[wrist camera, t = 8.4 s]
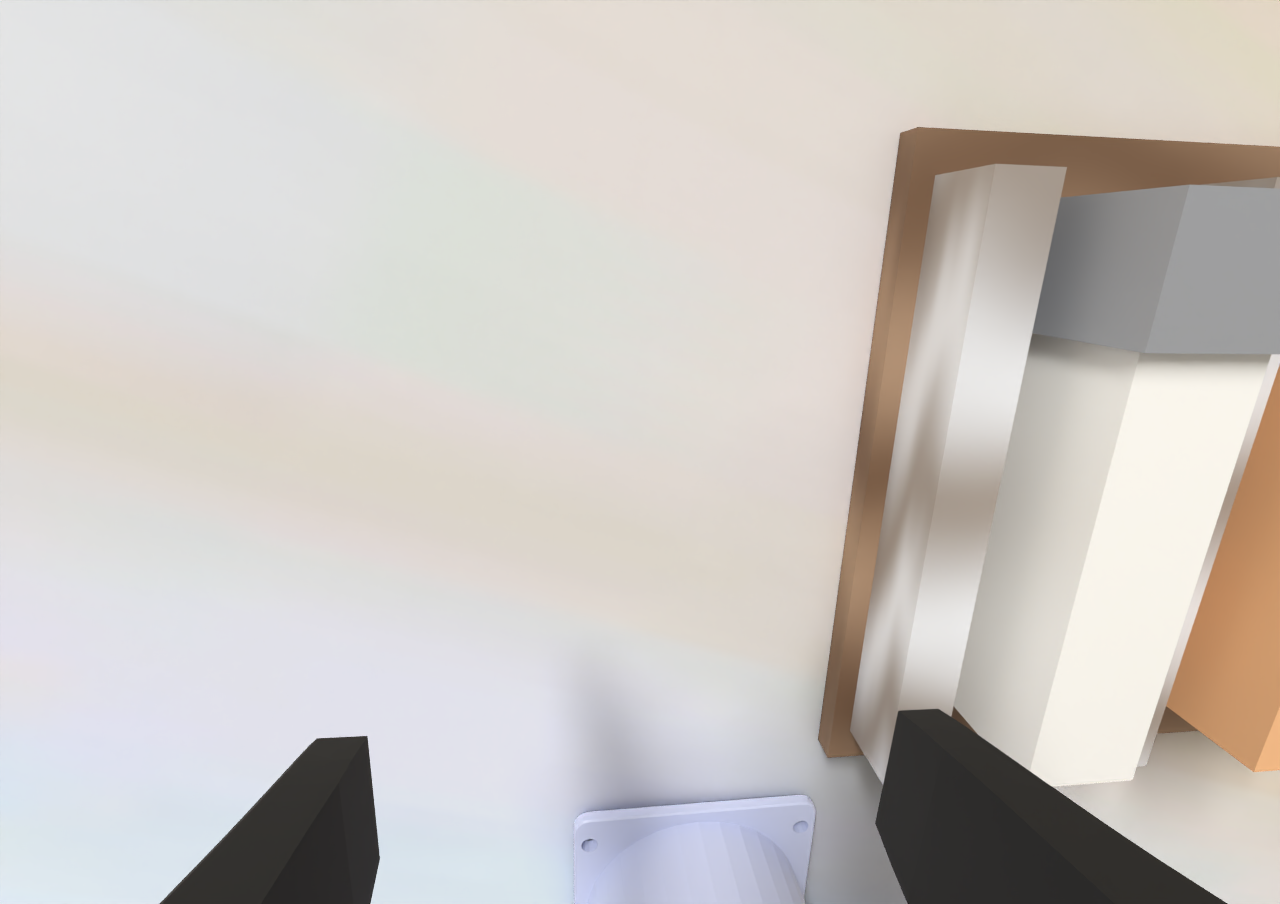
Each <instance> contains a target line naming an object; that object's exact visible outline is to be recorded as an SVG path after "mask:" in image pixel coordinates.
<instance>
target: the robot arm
mask: <svg viewBox="0 0 1280 904" xmlns="http://www.w3.org/2000/svg"><path fill="white" fill-rule="evenodd" d="M815 817H816V808H815V806H814V804H813V802H812V800H811V799H810V797H808V796H806V795H789V796H777V797H765V798H752V799H740V800H727V801H715V802H703V803H690V804H678V805H665V806H653V807H641V808H628V809H616V810H603V811H591V812H585V813H583V814H581V815H579V816H578V817H577V818H576V819H575V821H574V904H805V901H804V895H805V888H806V881H807V874H808V867H809V860H810V853H811V846H812V839H813V831H814V824H815ZM799 821H800V822H799ZM797 822H798V823H797ZM876 826H877V829H878V831H879V834H880V836H881V839H882V842H883V844H884V847H885V849H886V852H887V854H888V857H889V860H890V862H891V865H892V867H893V870H894V872H895V875H896V877H897V879H898V882H899V884H900V886H901V889H902V891H903V894H904V896H905V898H906V901H907V903H908V904H1227V903H1225V902H1224V901H1222V900H1221V899H1219V898H1218V897H1216V896H1214V895H1213V894H1211V893H1210V892H1208V891H1207V890H1205V889H1204V888H1202V887H1200V886H1199V885H1197V884H1196V883H1194V882H1193V881H1191V880H1190V879H1188V878H1186V877H1185V876H1183V875H1182V874H1180V873H1179V872H1177V871H1176V870H1174V869H1172V868H1171V867H1169V866H1168V865H1166V864H1165V863H1163V862H1161V861H1160V860H1158V859H1157V858H1155V857H1154V856H1152V855H1151V854H1149V853H1148V852H1146V851H1145V850H1143V849H1142V848H1140V847H1139V846H1137V845H1136V844H1134V843H1133V842H1131V841H1130V840H1128V839H1127V838H1125V837H1124V836H1123V835H1121V834H1120V833H1118V832H1117V831H1115V830H1114V829H1112V828H1111V827H1109V826H1108V825H1106V824H1105V823H1103V822H1102V821H1100V820H1099V819H1098V818H1096V817H1095V816H1093V815H1092V814H1090V813H1089V812H1087V811H1086V810H1085V809H1083V808H1082V807H1080V806H1079V805H1077V804H1076V803H1074V802H1073V801H1072V800H1070V799H1069V798H1067V797H1066V796H1064V795H1063V794H1062V793H1060V792H1059V791H1057V790H1056V789H1054V788H1053V787H1052V786H1050V785H1049V784H1047V783H1046V782H1044V781H1043V780H1042V779H1040V778H1039V777H1037V776H1036V775H1035V774H1033V773H1032V772H1030V771H1029V770H1027V769H1026V768H1025V767H1023V766H1022V765H1020V764H1019V763H1018V762H1016V761H1015V760H1013V759H1012V758H1010V757H1009V756H1008V755H1006V754H1005V753H1003V752H1002V751H1001V750H999V749H998V748H996V747H995V746H993V745H992V744H991V743H989V742H988V741H986V740H985V739H983V738H982V737H981V736H979V735H978V734H976V733H975V732H973V731H972V730H970V729H969V728H967V727H966V726H964V725H963V724H961V723H960V722H958V721H957V720H955V719H954V718H952V717H951V716H949V715H948V714H946V713H944V712H943V711H941V710H940V709H921V710H901V711H898V714H897V719H896V724H895V729H894V734H893V739H892V744H891V749H890V754H889V759H888V764H887V768H886V773H885V778H884V783H883V788H882V793H881V798H880V803H879V808H878V813H877V818H876ZM588 839H593V840H590V841H586V840H588ZM379 860H380V856H379V847H378V837H377V827H376V817H375V807H374V797H373V788H372V778H371V768H370V758H369V748H368V738H367V736H360V737H339V738H318V739H316V740H315V741H314V742H313V743H312V744H311V745H310V746H308V748H307V749H306V750H305V751H304V752H303V753H302V754H301V755H300V756H299V757H298V758H297V759H296V760H295V761H294V762H293V764H292V765H291V766H290V767H289V768H288V769H287V770H286V771H285V772H284V773H283V774H282V776H281V777H280V778H279V779H278V780H277V781H276V782H275V783H274V784H273V785H272V786H271V787H270V789H269V790H268V791H267V792H266V793H265V794H264V795H263V796H262V797H261V798H260V799H259V800H258V802H257V803H256V804H255V805H254V806H253V807H252V808H251V809H250V810H249V811H248V812H247V813H246V814H245V815H244V817H243V818H242V819H241V820H240V821H239V822H238V823H237V824H236V825H235V826H234V827H233V828H232V829H231V830H230V831H229V833H228V834H227V835H226V836H225V837H224V838H223V839H222V840H221V841H220V842H219V843H218V844H217V845H216V846H215V847H214V848H213V849H212V850H211V851H210V852H209V853H208V854H207V855H206V856H205V857H204V859H203V860H202V861H201V862H200V863H199V864H198V865H197V866H196V867H195V868H194V869H193V870H192V871H191V872H190V873H189V874H188V875H187V876H186V877H185V878H184V879H183V880H182V881H181V882H180V883H179V884H178V885H177V886H176V887H175V888H174V889H173V890H172V891H171V893H170V894H169V895H168V896H167V897H166V898H165V899H164V900H163V901H162V902H161V903H160V904H370V902H371V898H372V893H373V888H374V884H375V879H376V874H377V869H378V865H379Z"/></svg>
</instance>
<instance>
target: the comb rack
mask: <svg viewBox="0 0 1280 904" xmlns="http://www.w3.org/2000/svg"><path fill="white" fill-rule="evenodd" d="M1181 185H1210V186H1232V187H1254V188H1277V189H1280V147H1274V146H1255V145H1237V144H1218V143H1200V142H1182V141H1163V140H1145V139H1126V138H1108V137H1089V136H1071V135H1052V134H1034V133H1016V132H997V131H979V130H960V129H942V128H923V127H917V128H914V129H911V130H908V131H905V132H902V133H900V140H899V148H898V155H897V162H896V170H895V177H894V185H893V192H892V199H891V207H890V214H889V221H888V229H887V236H886V243H885V251H884V258H883V265H882V273H881V280H880V288H879V295H878V302H877V310H876V317H875V324H874V332H873V339H872V346H871V354H870V361H869V368H868V376H867V383H866V391H865V398H864V405H863V413H862V420H861V427H860V435H859V442H858V449H857V457H856V464H855V471H854V479H853V486H852V494H851V501H850V508H849V516H848V523H847V530H846V538H845V545H844V552H843V560H842V567H841V574H840V582H839V589H838V597H837V604H836V611H835V619H834V626H833V633H832V641H831V648H830V655H829V663H828V670H827V677H826V685H825V692H824V700H823V707H822V714H821V722H820V729H819V736H818V740H819V742H820V744H821V746H822V748H823V749H824V751H825V753H826V755H827V757H828V758H831V757H844V756H858V755H865V756H866V758H867V760H868V761H869V763H870V765H871V766H872V768H873V770H874V771H875V773H876V775H877V776H878V778H879V780H880V781H881V783H882V785H883V783H884V778H885V773H886V768H887V764H888V759H889V754H890V749H891V744H892V739H893V734H894V729H895V724H896V719H897V714H898V711H901V710H921V709H940V710H941V711H943V712H944V713H946V714H948V715H949V716H951V717H952V718H954V719H955V720H957V721H958V722H960V723H961V724H963V725H964V726H966V727H967V728H969V729H970V730H972V731H973V732H975V730H974V729H973V728H972V727H971V726H970V725H969V723H968V722H967V721H966V720H965V719H964V718H963V717H962V715H961V714H960V713H959V712H958V711H957V710H956V708H955V707H954V701H955V696H956V692H957V687H958V682H959V677H960V673H961V668H962V663H963V658H964V654H965V649H966V644H967V639H968V635H969V630H970V625H971V621H972V616H973V611H974V606H975V602H976V597H977V592H978V587H979V583H980V578H981V573H982V568H983V564H984V559H985V554H986V549H987V545H988V540H989V535H990V530H991V526H992V521H993V516H994V511H995V507H996V502H997V497H998V492H999V488H1000V483H1001V478H1002V473H1003V469H1004V464H1005V459H1006V454H1007V450H1008V445H1009V440H1010V435H1011V431H1012V426H1013V421H1014V416H1015V412H1016V407H1017V402H1018V397H1019V393H1020V388H1021V383H1022V379H1023V374H1024V369H1025V364H1026V360H1027V355H1028V350H1029V345H1030V341H1031V336H1032V331H1033V326H1034V322H1035V317H1036V312H1037V307H1038V303H1039V298H1040V293H1041V288H1042V284H1043V279H1044V274H1045V269H1046V265H1047V260H1048V255H1049V250H1050V246H1051V241H1052V236H1053V231H1054V227H1055V222H1056V217H1057V212H1058V208H1059V203H1060V198H1061V197H1071V196H1081V195H1091V194H1101V193H1111V192H1121V191H1131V190H1141V189H1151V188H1161V187H1171V186H1181ZM1279 365H1280V354H1271V357H1270V360H1269V363H1268V366H1267V369H1266V372H1265V376H1264V379H1263V382H1262V385H1261V388H1260V391H1259V394H1258V397H1257V400H1256V403H1255V406H1254V409H1253V412H1252V415H1251V418H1250V421H1249V424H1248V428H1247V431H1246V434H1245V437H1244V440H1243V443H1242V446H1241V449H1240V452H1239V455H1238V458H1237V461H1236V464H1235V467H1234V470H1233V473H1232V476H1231V480H1230V483H1229V486H1228V489H1227V492H1226V495H1225V498H1224V501H1223V504H1222V507H1221V510H1220V513H1219V516H1218V519H1217V522H1216V525H1215V528H1214V532H1213V535H1212V538H1211V541H1210V544H1209V547H1208V550H1207V553H1206V556H1205V559H1204V562H1203V565H1202V568H1201V571H1200V574H1199V577H1198V581H1197V584H1196V587H1195V590H1194V593H1193V596H1192V599H1191V602H1190V605H1189V608H1188V611H1187V614H1186V617H1185V620H1184V623H1183V626H1182V629H1181V633H1180V636H1179V639H1178V642H1177V645H1176V648H1175V651H1174V654H1173V657H1172V660H1171V663H1170V666H1169V669H1168V672H1167V675H1166V678H1165V681H1164V685H1163V688H1162V691H1161V694H1160V697H1159V700H1158V703H1157V706H1156V709H1155V712H1154V715H1153V718H1152V721H1151V724H1150V727H1149V730H1148V733H1147V737H1146V740H1145V743H1144V746H1143V749H1142V752H1141V755H1140V758H1139V761H1138V764H1137V767H1138V766H1146V765H1147V762H1148V759H1149V756H1150V753H1151V750H1152V747H1153V744H1154V741H1155V738H1156V735H1157V733H1170V732H1184V731H1197V729H1196V728H1195V727H1193V726H1192V725H1191V724H1189V723H1188V722H1187V721H1185V720H1184V719H1183V718H1181V717H1180V716H1179V715H1177V714H1176V713H1175V712H1173V711H1172V710H1171V709H1169V708H1168V707H1167V706H1166V705H1167V702H1168V699H1169V696H1170V693H1171V690H1172V687H1173V684H1174V681H1175V678H1176V674H1177V671H1178V668H1179V665H1180V662H1181V659H1182V656H1183V653H1184V650H1185V647H1186V644H1187V641H1188V638H1189V635H1190V632H1191V629H1192V626H1193V623H1194V620H1195V617H1196V614H1197V611H1198V608H1199V605H1200V602H1201V599H1202V596H1203V593H1204V590H1205V587H1206V584H1207V581H1208V578H1209V575H1210V572H1211V569H1212V566H1213V563H1214V560H1215V557H1216V554H1217V551H1218V548H1219V545H1220V542H1221V539H1222V536H1223V533H1224V530H1225V527H1226V524H1227V521H1228V518H1229V515H1230V512H1231V509H1232V506H1233V503H1234V500H1235V497H1236V494H1237V491H1238V488H1239V485H1240V482H1241V479H1242V476H1243V473H1244V470H1245V467H1246V464H1247V461H1248V458H1249V455H1250V452H1251V449H1252V446H1253V443H1254V440H1255V437H1256V434H1257V431H1258V428H1259V425H1260V422H1261V419H1262V416H1263V413H1264V410H1265V407H1266V404H1267V401H1268V398H1269V395H1270V392H1271V389H1272V386H1273V383H1274V380H1275V377H1276V374H1277V371H1278V368H1279ZM975 733H976V732H975ZM976 734H977V733H976Z"/></svg>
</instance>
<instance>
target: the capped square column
mask: <svg viewBox="0 0 1280 904" xmlns="http://www.w3.org/2000/svg"><path fill="white" fill-rule="evenodd" d="M1166 706H1167V707H1168V708H1169V709H1171V710H1172V711H1173V712H1175V713H1176V714H1177V715H1179V716H1180V717H1181V718H1183V719H1184V720H1185V721H1187V722H1188V723H1189V724H1191V725H1192V726H1193V727H1195V728H1196V729H1197V730H1199V731H1200V732H1201V733H1203V734H1204V735H1205V736H1207V737H1208V738H1209V739H1211V740H1212V741H1213V742H1214V743H1216V744H1217V745H1218V746H1220V747H1221V748H1222V749H1224V750H1225V751H1226V752H1228V753H1229V754H1230V755H1232V756H1233V757H1234V758H1236V759H1237V760H1238V761H1240V762H1241V763H1242V764H1244V765H1245V766H1246V767H1248V768H1249V769H1250V770H1252V771H1253V772H1261V771H1273V770H1280V365H1279V368H1278V371H1277V374H1276V377H1275V380H1274V383H1273V386H1272V389H1271V392H1270V395H1269V398H1268V401H1267V404H1266V407H1265V410H1264V413H1263V416H1262V419H1261V422H1260V425H1259V428H1258V431H1257V434H1256V437H1255V440H1254V443H1253V446H1252V449H1251V452H1250V455H1249V458H1248V461H1247V464H1246V467H1245V470H1244V473H1243V476H1242V479H1241V482H1240V485H1239V488H1238V491H1237V494H1236V497H1235V500H1234V503H1233V506H1232V509H1231V512H1230V515H1229V518H1228V521H1227V524H1226V527H1225V530H1224V533H1223V536H1222V539H1221V542H1220V545H1219V548H1218V551H1217V554H1216V557H1215V560H1214V563H1213V566H1212V569H1211V572H1210V575H1209V578H1208V581H1207V584H1206V587H1205V590H1204V593H1203V596H1202V599H1201V602H1200V605H1199V608H1198V611H1197V614H1196V617H1195V620H1194V623H1193V626H1192V629H1191V632H1190V635H1189V638H1188V641H1187V644H1186V647H1185V650H1184V653H1183V656H1182V659H1181V662H1180V665H1179V668H1178V671H1177V674H1176V678H1175V681H1174V684H1173V687H1172V690H1171V693H1170V696H1169V699H1168V702H1167V705H1166Z"/></svg>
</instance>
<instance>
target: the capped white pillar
mask: <svg viewBox="0 0 1280 904" xmlns="http://www.w3.org/2000/svg"><path fill="white" fill-rule="evenodd" d="M1271 354H1280V189H1277V188H1254V187H1232V186H1210V185H1181V186H1171V187H1161V188H1151V189H1141V190H1131V191H1121V192H1111V193H1101V194H1091V195H1081V196H1071V197H1061V198H1060V203H1059V208H1058V212H1057V217H1056V222H1055V227H1054V231H1053V236H1052V241H1051V246H1050V250H1049V255H1048V260H1047V265H1046V269H1045V274H1044V279H1043V284H1042V288H1041V293H1040V298H1039V303H1038V307H1037V312H1036V317H1035V322H1034V326H1033V331H1032V336H1031V341H1030V345H1029V350H1028V355H1027V360H1026V364H1025V369H1024V374H1023V379H1022V383H1021V388H1020V393H1019V397H1018V402H1017V407H1016V412H1015V416H1014V421H1013V426H1012V431H1011V435H1010V440H1009V445H1008V450H1007V454H1006V459H1005V464H1004V469H1003V473H1002V478H1001V483H1000V488H999V492H998V497H997V502H996V507H995V511H994V516H993V521H992V526H991V530H990V535H989V540H988V545H987V549H986V554H985V559H984V564H983V568H982V573H981V578H980V583H979V587H978V592H977V597H976V602H975V606H974V611H973V616H972V621H971V625H970V630H969V635H968V639H967V644H966V649H965V654H964V658H963V663H962V668H961V673H960V677H959V682H958V687H957V692H956V696H955V701H954V707H955V708H956V710H957V711H958V712H959V713H960V714H961V715H962V717H963V718H964V719H965V720H966V721H967V722H968V723H969V725H970V726H971V727H972V728H973V729H974V730H975V732H976V733H977V734H978V735H979V736H981V737H982V738H983V739H985V740H986V741H988V742H989V743H991V744H992V745H993V746H995V747H996V748H998V749H999V750H1001V751H1002V752H1003V753H1005V754H1006V755H1008V756H1009V757H1010V758H1012V759H1013V760H1015V761H1016V762H1018V763H1019V764H1020V765H1022V766H1023V767H1025V768H1026V769H1027V770H1029V771H1030V772H1032V773H1033V774H1035V775H1036V776H1037V777H1039V778H1040V779H1042V780H1043V781H1044V782H1046V783H1047V784H1049V785H1050V786H1052V787H1056V786H1068V785H1080V784H1092V783H1104V782H1116V781H1128V780H1132V779H1133V776H1134V773H1135V770H1136V767H1137V764H1138V761H1139V758H1140V755H1141V752H1142V749H1143V746H1144V743H1145V740H1146V737H1147V733H1148V730H1149V727H1150V724H1151V721H1152V718H1153V715H1154V712H1155V709H1156V706H1157V703H1158V700H1159V697H1160V694H1161V691H1162V688H1163V685H1164V681H1165V678H1166V675H1167V672H1168V669H1169V666H1170V663H1171V660H1172V657H1173V654H1174V651H1175V648H1176V645H1177V642H1178V639H1179V636H1180V633H1181V629H1182V626H1183V623H1184V620H1185V617H1186V614H1187V611H1188V608H1189V605H1190V602H1191V599H1192V596H1193V593H1194V590H1195V587H1196V584H1197V581H1198V577H1199V574H1200V571H1201V568H1202V565H1203V562H1204V559H1205V556H1206V553H1207V550H1208V547H1209V544H1210V541H1211V538H1212V535H1213V532H1214V528H1215V525H1216V522H1217V519H1218V516H1219V513H1220V510H1221V507H1222V504H1223V501H1224V498H1225V495H1226V492H1227V489H1228V486H1229V483H1230V480H1231V476H1232V473H1233V470H1234V467H1235V464H1236V461H1237V458H1238V455H1239V452H1240V449H1241V446H1242V443H1243V440H1244V437H1245V434H1246V431H1247V428H1248V424H1249V421H1250V418H1251V415H1252V412H1253V409H1254V406H1255V403H1256V400H1257V397H1258V394H1259V391H1260V388H1261V385H1262V382H1263V379H1264V376H1265V372H1266V369H1267V366H1268V363H1269V360H1270V357H1271Z"/></svg>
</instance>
